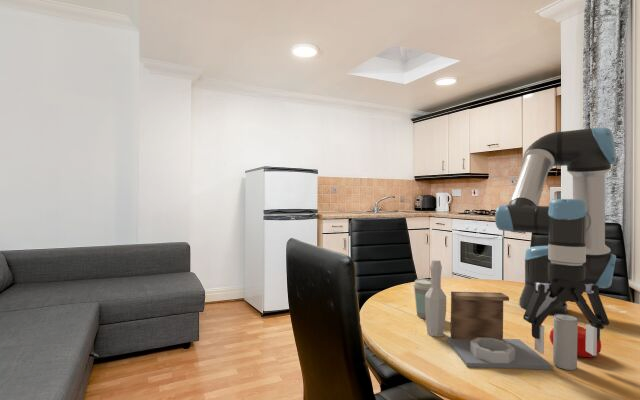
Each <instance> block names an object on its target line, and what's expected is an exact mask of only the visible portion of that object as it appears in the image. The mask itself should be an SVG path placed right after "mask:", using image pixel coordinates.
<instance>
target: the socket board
mask: <svg viewBox="0 0 640 400" xmlns="http://www.w3.org/2000/svg"><path fill="white" fill-rule="evenodd" d="M446 341H447V343H448V344H449V345H450V347H451V348H452V349H453V351H454V352H455V354H456V355H457V356H458V357H459V358H460V360H461V361H462V362H463V363H464V365H465V366H466V368H490V369H517V370H519V369H521V370H545V371H548V370H550V371H553V369H554V365H552V363H550V362H549V361H548V360H546V359H545V358H544V357H542V356H541V354H540V353H538V352H537V351H536V350H535V349H532V348H531V347H530V346H529V345H527V344H526V343H525V342H523V341H522V340H521V339H519V338H503V340H498V339H494V338H479V337H477V338H475V339H452V338H451V336H447V337H446Z"/></svg>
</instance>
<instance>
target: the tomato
mask: <svg viewBox="0 0 640 400" xmlns="http://www.w3.org/2000/svg"><path fill="white" fill-rule="evenodd" d="M553 334H554V327H553V328H552V329H551V330H550V333H549V340H550V342H551V344H552V345H553ZM601 343H602V341H601V338H600V339H599V341H597V356H598V355H599V354H600V353H601V350H602V344H601ZM577 357H580V358H594V357H596V356H593V355H592V354H590V353H588V352H587V351H586V327H583V326H581V325H578V333H577Z"/></svg>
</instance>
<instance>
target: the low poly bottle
mask: <svg viewBox="0 0 640 400" xmlns="http://www.w3.org/2000/svg"><path fill="white" fill-rule="evenodd" d="M429 267H430V268H429V270H430V280H431V288H430V289H429V290H428V291H427V293H426V294H425V316H426V319H425V324H426V333H427V335H429V336H432V337H435V338H438V337H443V336H444V330H445V322H446V316H447V315H446V314H447V295H446V294H445V292H444V290H443V288H441V287H442V285H441V283H442V282H441V281H442V279H441V278H442V270H443V269H442V268H443V267H442V263H441V260H440V259H431V264H430V266H429Z"/></svg>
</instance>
